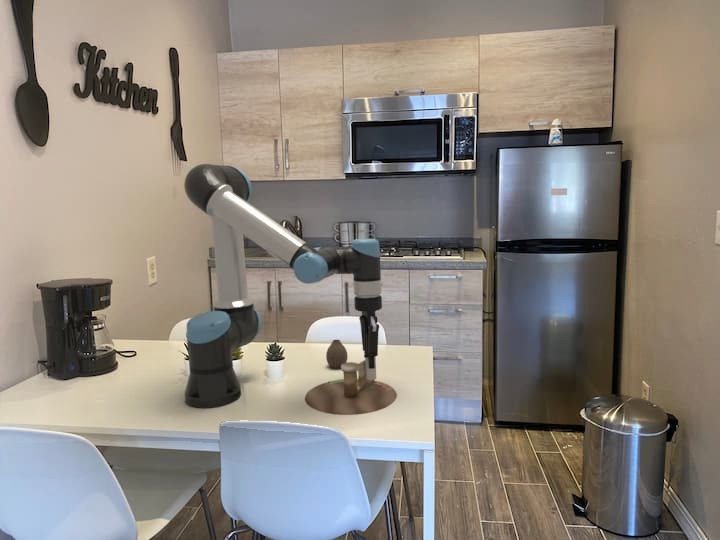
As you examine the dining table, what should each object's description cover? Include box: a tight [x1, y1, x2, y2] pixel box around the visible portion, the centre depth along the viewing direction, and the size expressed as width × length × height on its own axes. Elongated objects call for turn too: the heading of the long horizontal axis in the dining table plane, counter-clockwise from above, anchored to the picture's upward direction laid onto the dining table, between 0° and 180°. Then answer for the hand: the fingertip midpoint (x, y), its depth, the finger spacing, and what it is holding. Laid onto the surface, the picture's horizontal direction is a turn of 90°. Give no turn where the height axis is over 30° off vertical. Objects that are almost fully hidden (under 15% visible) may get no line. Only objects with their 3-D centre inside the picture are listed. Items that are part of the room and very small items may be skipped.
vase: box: [326, 339, 348, 369], centre depth 164 cm, size 7×7×9 cm
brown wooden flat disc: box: [304, 378, 398, 416], centre depth 137 cm, size 25×25×1 cm
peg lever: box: [340, 359, 376, 397], centre depth 140 cm, size 15×5×8 cm, turn 148°
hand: (371, 378), depth 140 cm, fingers closed
